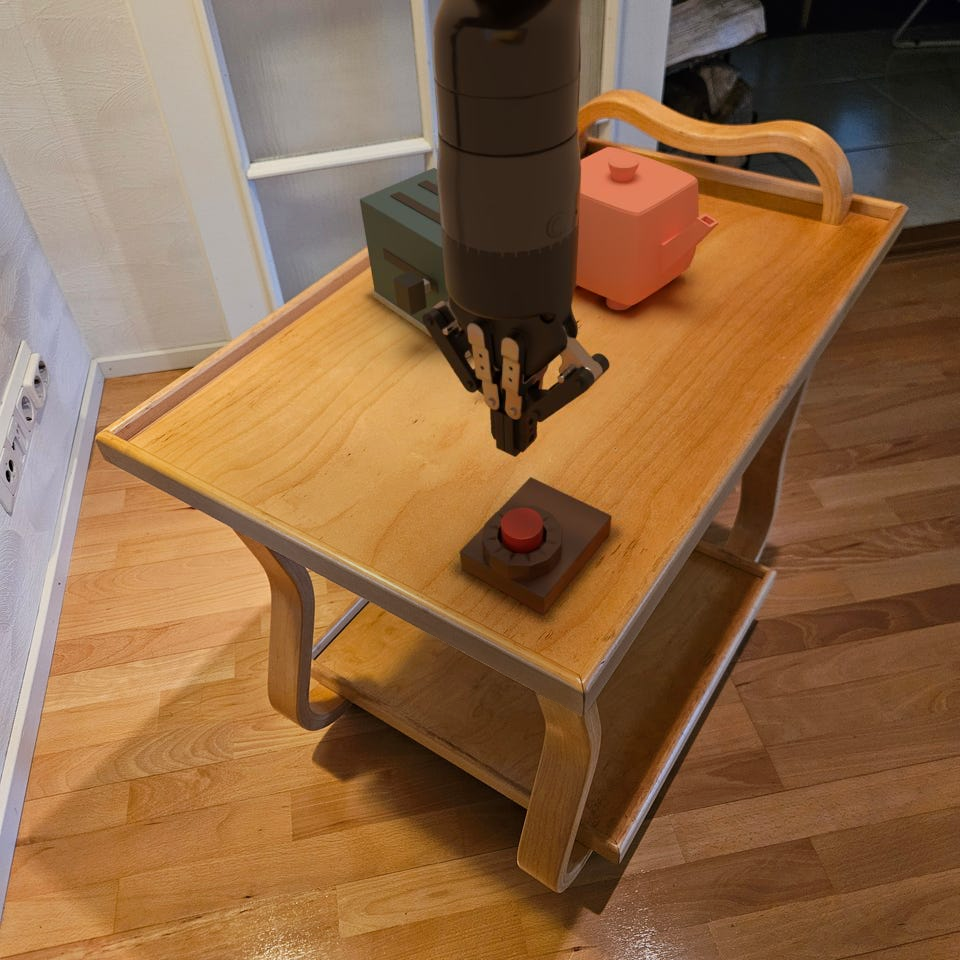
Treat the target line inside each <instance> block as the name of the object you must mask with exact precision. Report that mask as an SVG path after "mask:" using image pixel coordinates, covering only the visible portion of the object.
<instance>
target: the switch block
mask: <svg viewBox="0 0 960 960" xmlns="http://www.w3.org/2000/svg"><path fill="white" fill-rule="evenodd" d="M516 508H528V509H532V510H534V511H536V512H537V513H538V514H539V515H540V516H541V518H542V520H543V541H542V543H541V545H540V546H539V547H538V548H537V549H536V550H534V551H532V552H530V553H515V552H512V551H510V550H508V549H507V548H506V547H505V546H504V544H503V542H502V536H501V520H502V518H503V516H504V515H505V514H506V513H507V512H509V511H510V510H513V509H516ZM612 518H613V517H612V515H611V514H609V513H607V512H605V511H602V510H600V509H598V508H596V507H594V506H592V505H590V504H588V503H586V502H584V501H582V500H579V499H578V498H576V497H573V496H572V495H569V494H567V493H565V492H563V491H561V490H559V489H557V488H554V487H553V486H550V485H549V484H546V483H544V482H542V481H540V480H538V479H536V478H535V477H532V476H530V477H529V478H528V479H527V480H526V481H525V482H524V483H523V484H522V485H521V486H520V487H519V488H518V489H517V491H516V492H515V493H513V494H512V496H510V498H509V499H508V500H507V501H506V502H505V503H504V504H503V506H501V508H499V510H497V511H495V512H494V513H493V515H491V517H490V518H489V519H488V520H487V521H486V522H485V523H484V525H483V526H482V528H480V529H479V530H478V531H477V533H476V534H474V536H472V538H471V539H470V540H469V541H468V542H467V543H466V544H465V545H464V546H463V547H462V548H461V549H460V551H459V559H460V566H461V567H460V568H461V570H463V571H465V572H467V573H468V574H470V575H471V576H473V577H475V578H478V579H479V580H481V581H482V582H484V583H486V584H488V585H490V586H491V587H493V588H495V589H497V590H498V591H500V592H502V593H504V594H506V595H508V596H509V597H511V598H513V599H515V600H516V601H518V602H520V603H521V604H523V605H525V606H526V607H528V608H530V609H532V610H534V611H536V612H538V613H540V614H541V615H543V616H544V615H545V614H546V613H547V611H549V609H550V608H551V607H552V605H553V604H554V603H555V602H556V600H557V599H558V598H559V597H560V596H561V594H562V593H563V592H564V591H565V589H566V588H567V587H568V586H569V584H570V583H571V582H572V581H573V580H574V578H575V577H576V576H577V575H578V573H579V572H580V571H581V570H582V568H583V567H584V566H585V564H586V563H587V562H588V561H589V560H590V559H591V557H592V556H593V555H594V554H595V552H596V551H597V550H598V549H599V547H600V546H601V545H602V544H603V543H604V541H605V540H606V539H607V537H608V536H609V535H610V534H611V527H612Z"/></svg>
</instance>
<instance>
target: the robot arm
mask: <svg viewBox="0 0 960 960" xmlns="http://www.w3.org/2000/svg"><path fill="white" fill-rule="evenodd" d="M582 1H583V0H441V2H440V5H439V8H438V10H437V13H436V17H435V20H434V25H433V32H432V42H431V43H432V44H431V45H432V47H431V48H432V51H431V52H432V54H431V55H432V72H433V80H434V81H433V82H434V92H435V104H436V105H435V106H436V108H435V109H436V119H437V140H438V143H437V161H436V169H437V186H438V198H439V211H440V223H441V235H442V247H443V259H444V271H445V283H446V288H447V291H448V293H449V296H448V297H446V298H445V299H444V300H442V301H440V302H439V303H438V304H436V305H435V306H434V307H432V308H431V309H430V310H429V311H428V312H427V313H425V314H424V315H423V317H422V321H423V323H424V325H425V327H426V328H427V330H428V331H429V333H430V335H431V336H432V337H431V338H432V339H433V341H434V342H435V344H436V346H437V347H438V349H439V350H440V352H441V354H442V355H443V357H444V358H445V359H446V361H447V363H448V364H449V366H450V367H451V370H452V371H453V373H454V374H455V375H456V377H457V378H458V380H459V382H460V383H461V384H462V386H463V388H464V389H465V390H466V391H467V392H469V393H473V394H474V393H476V392H477V391H478V392H479V393H480V394H481V395H483V401H484V404H485V405H486V407H488V408H489V415H490V419H489V420H490V434H491V436H492V439H493V440H495V449H497V450H499V451H501V452H503V453H506V454H508V455H510V456H512V457H514V458H515V457H516V458H517V457H518V456H519V455H520V454H521V453H524V452H525V451H526V450H527V449H528V448H530V446H531V445H532V444H534V442H535V441H536V439H537V438H538V423H542V422H544V421H545V420H547V419H548V418H550V417H551V416H553V415H554V414H556V413H557V412H558V411H560V410H561V409H563V408H564V407H565V406H567V405H569V404H570V403H572V402H573V401H574V400H576V399H577V398H578V397H580V396H582V395H584V393H586V392H587V391H588V390H589V389H590V388H591V387H592V386H593V385H594V384H595V383H596V382H597V381H598V380H599V379H600V378H601V377H602V376H603V375H604V374H605V373H606V372H607V371H608V370H609V369H610V361H609V359H608V358H607V356H605V355H604V354H602V353H597V352H596V353H594V354H593V355H590V353H588V351H587V350H586V349H585V348H584V347H583V345H582V344H581V343H580V342H579V340H578V339H577V337H578V334H579V327H578V326H579V325H578V322H577V320H576V318H575V315H574V312H573V305H572V304H573V300H574V295H575V291H576V287H575V286H576V278H577V255H578V234H579V213H580V190H581V160H582V159H581V152H580V140H579V119H580V96H581V74H582V73H581V72H582V69H581V68H582V48H581V47H582V45H581V43H582V42H581V15H582ZM467 351H469V352H470V354H471V357H472V359H473V364H474V368H473V367H472V366H471V364H470V363H469V361H468V359H467V358H465V353H466V352H467ZM559 356H560V358H561V364H560V366H559V367H558V373H559V375H558V376H557V381H556V382H555V383H554V384H553V385H551V386H550V387H549V388H548V389H546V388H543V387H544V377H545V375H546V374H547V371H548V369H549V366H550V364H551V363H552V362H553V361H555V359H557V358H558V357H559Z"/></svg>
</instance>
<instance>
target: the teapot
mask: <svg viewBox="0 0 960 960" xmlns="http://www.w3.org/2000/svg"><path fill="white" fill-rule="evenodd" d="M699 199H700V197H699V180H698V179H697V177H695V176H694V175H692V174H691V173H688V172H685V171H684V170H681V169H679V168H676V167H674V166H671V165H668V164H666V163H663V162H661V161H658V160H655V159H652V158H651V157H647V156H645V155H641V154H637V153H634V152H631V151H628V150H625V149H622V148H617V147H613V146H606V147H604V148H602V149H600V150H598V151H596V152H594V153H592V154H591V155H588V156H586V157H584V158H582V159H581V190H580V213H579V234H578V255H577V278H576V286H575V288H577V287H581V288H583V289H585V290H588V291H590V292H592V293H595V294H597V295H599V296H601V297H604V298H606V301H605V305H606V306H607V308H609V309H611V310H615V311H624V310H628V309H629V308H631V307H632V306H634V305H636V304H638V303H639V302H641V301H643V300H644V299H647V298H648V297H649V296H651V295H653V294H654V293H656V292H657V291H659V290H660V289H662V288H663V287H664V286H666V285H667V284H669V283H671V281H673V280H675V279H677V278H678V277H679V276H680V275H681V274H683V273H685V272H686V271H687V270H688V269H689V268H690V267H691V265H692V262H693V260H694V257H695V255H696V250H697V246H698V245H699V244H701V242H702V241H703V240H704V239H705V238H706V237H707V236H708V235H709V234H710V233H711V232H712V231H713V230H714V229H715V228H716V227H717V226H718V225H719V223H720V221H718V220H717V219H715V218H714V217H712V216H710V215H709V214H707V213H706V212H704V213H703V214H701V215H700V201H699Z"/></svg>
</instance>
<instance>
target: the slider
mask: <svg viewBox="0 0 960 960" xmlns="http://www.w3.org/2000/svg"><path fill="white" fill-rule="evenodd" d="M394 286H395V293H396V300H397V306H398V307H400V308H401V309H403V310H404V311H406V312H407V313H409V314H410V315H413V314H415V313H417V312H419V311H421V310H423V309H425V308H427V304H426V295H425V293H427V292H429V291H431V286H430V282H429V281H427V280H426V279H421V278H420V277H418V276H416V275H415V274H413V273H412V272H410V271H408V272H406V273H404V274H402V275H400V276H398V277H396V278H394Z"/></svg>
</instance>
